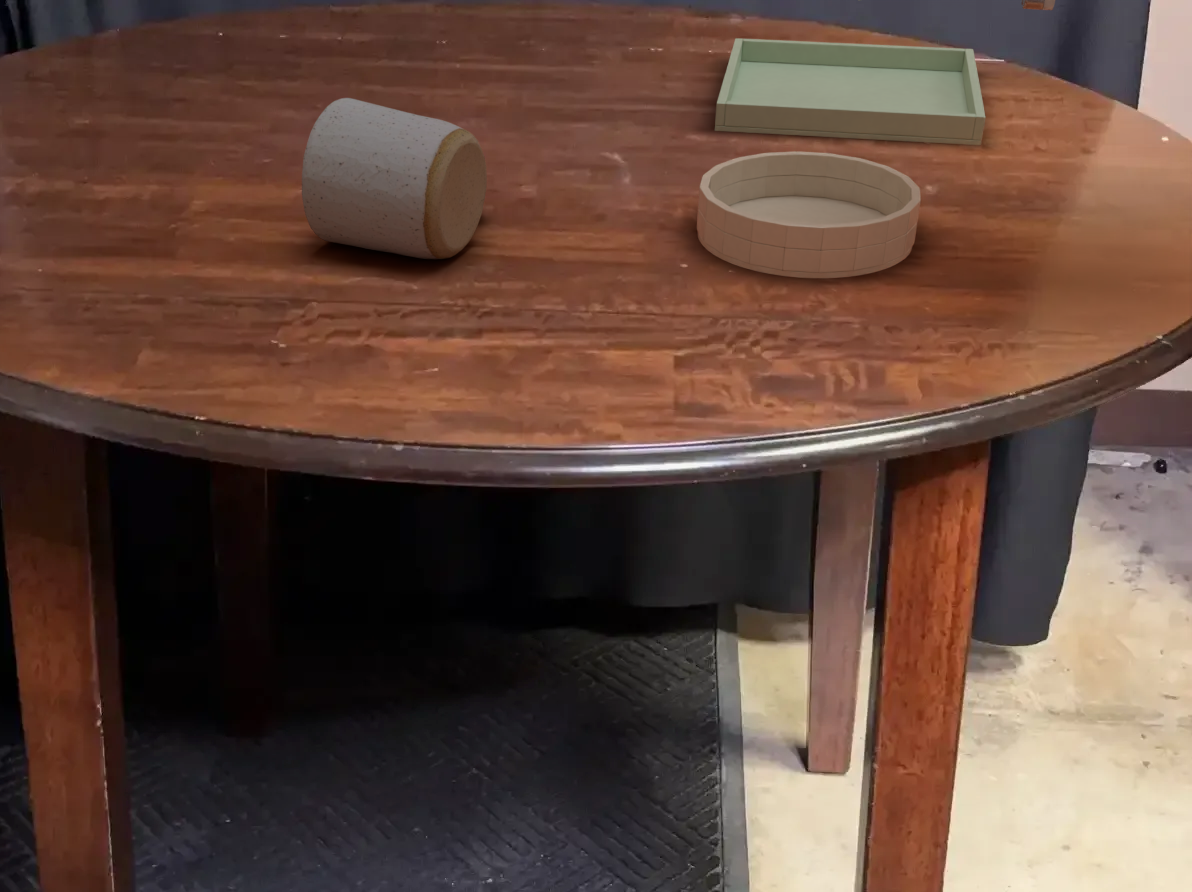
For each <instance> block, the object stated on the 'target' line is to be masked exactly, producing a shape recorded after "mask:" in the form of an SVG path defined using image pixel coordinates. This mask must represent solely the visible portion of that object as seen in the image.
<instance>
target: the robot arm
mask: <svg viewBox="0 0 1192 892" xmlns="http://www.w3.org/2000/svg"><path fill="white" fill-rule="evenodd" d="M859 1H862V0H859ZM1020 4H1021V7H1022V9H1024V10H1039V11H1053V10H1054V7H1055V5H1056V0H1020Z"/></svg>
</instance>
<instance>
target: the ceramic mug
mask: <svg viewBox="0 0 1192 892" xmlns="http://www.w3.org/2000/svg"><path fill="white" fill-rule="evenodd" d="M302 159H303V160H302V169H301V171H302V172H301V197H302V204H303V209H304V214H305V218H306V220H307V223H308V225H309V227H310V229H311V230H312V232H314V234H315V235H316V236H317V237H318V238H319V239H321V240H323V241H325V242H329V243H333V244H334V243H335V244H340V245H345V246H350V247H351V246H352V247H355V248H356V247H357V248H361V249H366V250H372V251H377V252H384V253H389V254H396V255H401V256H406V257H410V258H417V259H422V260H446V259H450V258H452V257H454V256H456V255H457V254H459V253H460V252H461V251H462V250H463V249H464V248H465V247H466V246H468V244H469V243H470V241H471V239H472V238H473V237H474V235H475V232H476V231H477V228H478V225H479V224H480V220H481V217H482V214H483V210H484V205H485V199H486V193H487V185H488V184H487V183H488V182H487V181H488V180H487V179H488V178H487V177H488V173H487V172H488V171H487V162H486V157H485V154H484V151H483V149H482V147H481V144H480V142H479V140H478V139H477V138H476V136H475V135H474V134H473V133H472V132H470V131H469V130H467V129H465V128H462V127H461V126H458V125H456V124H454V123H452V122H450V121H446V120H442V119H439V118H433V117H429V116H425V115H420V114H415V113H411V112H408V111H407V112H406V111H403V110H400V109H395V108H391V107H387V106H383V105H379V104H375V103H371V102H367V101H364V100H359V99H356V98H351V97H343V98H339V99H336V100H334V101H332V102H331V103H330V104H329V105H327V106H325V108H324V109H323V111H322V112H321V114H320V115H319V116H318V117H317V119H316V121H314V124H313V126H312V128H311V131H310V133H309V136H308V140H307V143H306V145H305V150H304V153H303V158H302Z"/></svg>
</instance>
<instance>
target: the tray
mask: <svg viewBox="0 0 1192 892" xmlns="http://www.w3.org/2000/svg"><path fill="white" fill-rule="evenodd" d="M731 48H732V49H731V52H730V55H729V59H728V64H727V66H726V70H725V73H724V76H723V80H722V83H721V86H720V90H719V94H718V97H717V100H716V105H715V106H716V107H715V119H714V125H715V126H714V131H715V132H729V133H730V132H733V133H751V134H770V135H787V136H805V137H806V136H808V137H820V138H821V137H824V138H841V139H859V140H860V139H861V140H879V141H895V142H914V143H915V142H916V143H931V144H933V143H934V144H948V145H949V144H950V145H951V144H952V145H968V146H981V145H982V140H983V135H984V131H985V130H984V129H985V123H986V118H987V117H986V111H985V107H984V100H983V96H982V95H983V94H982V89H981V85H980V79H979V74H978V73H979V72H978V69H977V62H976V56H975V51H974V49H973V48H962V47H961V48H957V47H937V46H914V45H892V44H872V43H870V44H869V43H850V42H849V43H847V42H830V41H829V42H828V41H827V42H826V41H825V42H824V41H805V40H803V41H802V40H785V39H783V40H782V39H781V40H780V39H763V38H762V39H759V38H737V37H735V39H734V42H733V45H732V47H731Z"/></svg>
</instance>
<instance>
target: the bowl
mask: <svg viewBox="0 0 1192 892" xmlns="http://www.w3.org/2000/svg"><path fill="white" fill-rule="evenodd" d="M921 203H922V197H921V187H920V186H919V185H918V184H917V183H916V182H915V181H913V179H912V178H911V177H910V176H909V175H906V174H905V173H903V172H901V171H899V170H896V169H895V168H893V167H891V166H888V165H886V164H882V163H879V162H875V161H871V160H868V159H866V158H862V157H857V156H856V157H855V156H850V155H843V154H837V153H832V152H831V153H830V152H815V151H801V150H800V151H796V150H795V151H778V152H777V151H775V152H762V153H757V154H750V155H745V156H739V157H735V158H733V159H729V160H727V161H724V162H721V163H718V164H715V165H714V166H712V167H711V168H710V169H709V170H708V171H706V172H705V173H704V174H703V175H702V176H701V180H700V184H699V188H698V202H697V216H696V217H697V218H696V219H697V220H696V231H697V233H696V234H697V238H698V241H699V243H700V244H701V246H703V248H705V250H707V252H709V253H711V254H712V255H713V256H715V257H717V258H719V259H720V260H722V261H725V262H727V263H730V264H732V265H735V266H737V267H740V268H743V269H747V270H751V271H755V272H758V273H763V274H768V275H774V276H781V277H790V278H798V279H799V278H801V279H838V278H849V277H856V276H857V277H858V276H864V275H869V274H873V273H876V272H880V271H884V270H886V269H889V268H891V267H894V266H896V265H898V264H899V263H901V262H903V260H905V259H906V258H907V257H908V256H910V254H911V252H912V250H913V248H914V244H915V241H916V234H917V228H918V222H919V215H920V208H921Z"/></svg>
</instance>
